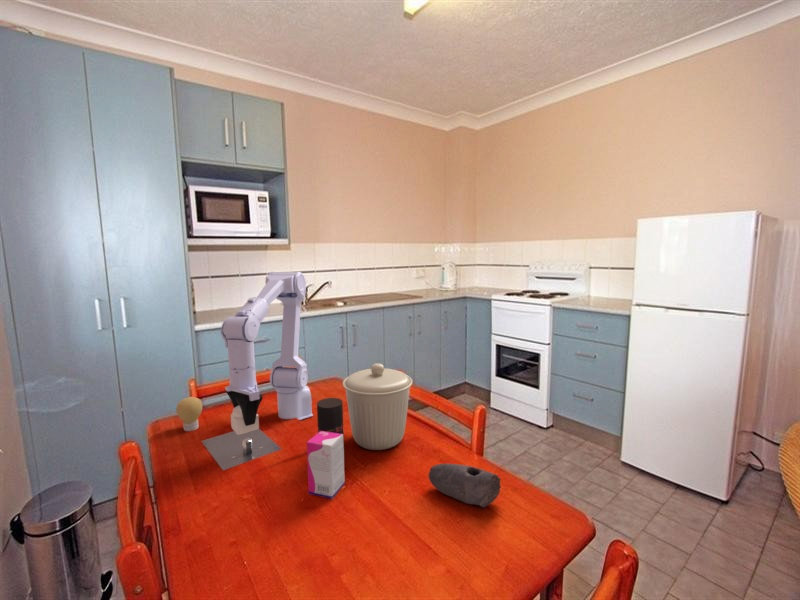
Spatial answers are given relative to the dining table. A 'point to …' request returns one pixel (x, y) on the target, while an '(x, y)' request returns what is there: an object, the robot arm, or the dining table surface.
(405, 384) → the canister
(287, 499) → the dining table surface
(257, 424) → the knob
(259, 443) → the panel
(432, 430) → the dining table surface
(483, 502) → the perforated stone tool
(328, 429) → the deodorant
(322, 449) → the supplement box
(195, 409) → the light bulb
